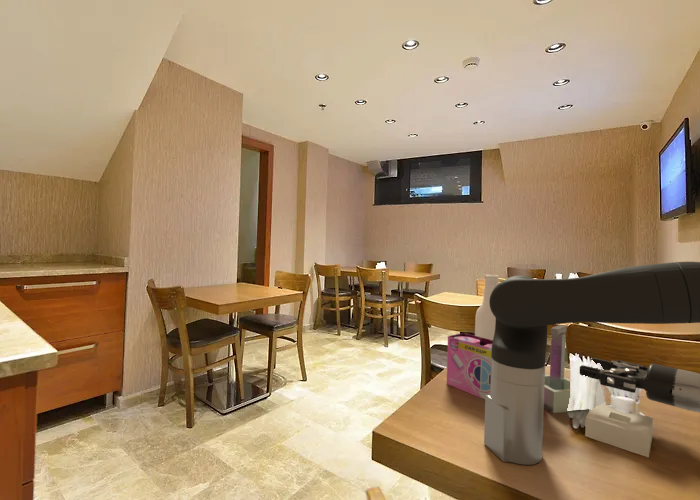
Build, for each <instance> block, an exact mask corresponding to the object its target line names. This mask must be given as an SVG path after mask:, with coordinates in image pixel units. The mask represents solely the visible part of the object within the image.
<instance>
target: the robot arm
mask: <svg viewBox="0 0 700 500" xmlns="http://www.w3.org/2000/svg"><path fill="white" fill-rule="evenodd" d="M489 305H490V309H491V311H492V313H493V315H494V316H495V317H496V323H495V333H494V338H493V342H492V353H491V385H490V395H487V396H486V398H485V399H484V405H485V406H484V428H483V429H484V431H483V436H484V437H483V443H484V445H485V446H486V447H487V448H488V449H489V450H491V451H492V453H493V454H495V456H496V457H498V459H500V460H501V461H502V462H504V463H505V462H510V463H512V464H513V463H514V464H519V465H527V466H528V465H535V464H538V463H539V462H541V461H542V458H543V441H544V440H543V438H544V436H543V435H544V409H545V408H544V386H545V375H546V355H547V345H548V326H552V325H553V326H554V325H562V324H563V325H564V324H574V323H600V324H601V323H603V324H630V325H631V324H632V325H633V324H637V325H638V324H641V325H642V324H645V325H646V324H647V325H648V324H649V325H651V324H652V325H661V324H662V325H665V324H666V325H668V324H675V325H676V324H700V261H675V262H663V263H652V264H642V265H633V266H627V267H622V268H618V269H613V270H609V271H608V270H607V271H602V272H598V273H595V274H590V275H585V276H579V277H572V278H571V277H569V278H550V279H549V278H546V279H543V278H542V279H541V278H533V277H532V276H528V275H522V274H521V275H513V276H510V277H508V278H505V279H503V280H502V281H499V282H498V285H497V286H496V287H495V288H494V290H493V291H492V293H491V296H490V300H489ZM591 360H593V361H594V362H595V363H596V364H597V363H600V364H601V366H602V367H603V369H604V370H602V369H598V368H593V367H592V366H588V365H584V364H582V365H580V366H579V375H581V376H583V375H585V376H583V377H586V376H588V377H587V378H590V379H594V380H597V381H598V382H599V383H600V385H601V386H604V387H608V388H609V387H610V388H613V389H616V390H621V391H626V392H630V393H634V394H635V393H637V392H636V391H637V389H638V390H640V389H641V390H645V395H646V398H647V399H648V400H649V401H653V402H658V403H661V404H664V405H668V406H672V407H675V408H679V409H682V410H686V411H691V412H696V413H700V373H698V372H694V371H690V370H685V369H682V368H681V369H680V368H676V367H671V366H666V365H661V364H657V363H650V364H649V365H648V366H646V365H641V364H638V363H633V362H627V361H624V360H620V359H616V360H611V361H609V360H605V359H601V358H596V357H592V358H590V361H591Z"/></svg>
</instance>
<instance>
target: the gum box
mask: <svg viewBox="0 0 700 500" xmlns="http://www.w3.org/2000/svg"><path fill="white" fill-rule="evenodd" d="M492 342H493V340H490V339H486V338H482V337H478V336H475V334H474V335H473V334H470V333H466V332H463V333H462V332H461V333H456V334H452V335H448V336H447V354H446V356H447V357H446V358H447V359H446V360H447V361H446V362H447V363H446V384H447V385H448V386H451V387H454V388H455V389H458V390H460V391H463V392H465V393H468V394H470V395H472V396H475V397H477V398H480V399H483V400H485V398H486V396H487V395H490V385H491V353H492Z"/></svg>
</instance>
